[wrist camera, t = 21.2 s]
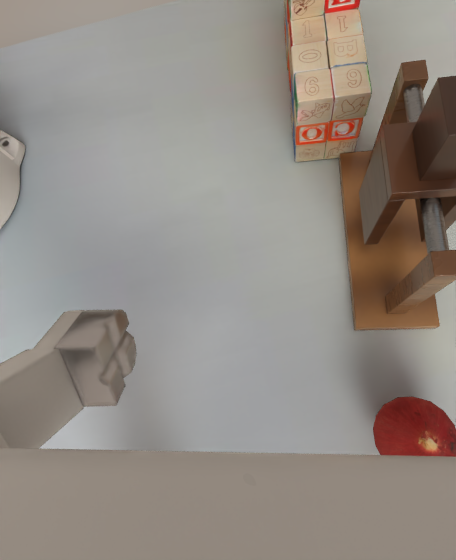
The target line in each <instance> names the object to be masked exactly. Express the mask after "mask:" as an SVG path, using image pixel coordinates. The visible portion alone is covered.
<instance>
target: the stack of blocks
mask: <svg viewBox="0 0 456 560" xmlns="http://www.w3.org/2000/svg"><path fill="white" fill-rule="evenodd" d="M359 4H360V0H284V15H285V40H286V56H287V69H288V71H289V83H290V92H291V121H292V135H293V142H294V155H295V162H300V161H311V160H320V159H332V158H339V156H340V153H350V152H354V151H355V147H356V143H357V138H358V137H359V134H360V130H361V126H362V122H363V117H364V116H365V115H366V112H367V108H368V105H369V101H370V97H371V93H372V89H371V84H370V78H369V71H368V66H367V56H366V49H365V44H364V37H363V30H362V23H361V18H360V13H359V10H358V8H359Z"/></svg>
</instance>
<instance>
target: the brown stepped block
mask: <svg viewBox="0 0 456 560" xmlns="http://www.w3.org/2000/svg"><path fill="white" fill-rule="evenodd" d="M436 197H440V199H441V205H442V211H443V217H444V222H445V228H446V230H447V229H448V228H449V227H450V226H451V225H452V224H453V223H454V222H455V221H456V76H450V77H441V78H438V79H437V81H436V83H435V85H434V87H433V90H432V92H431V94H430V96H429V98H428V100H427V102H426V104H425V106H424V108H423V110H422V112H421V114H420V116H419V118H418V120H417V122H409V123H399V124H388V125H383V127H382V129H381V132H380V136H379V138H378V141H377V144H376V147H375V149H374V152H373V155H372V158H371V160H370V163H369V166H368V169H367V171H366V174H365V177H364V180H363V182H362V185H361V188H360V191H359V198H360V207H361V217H362V226H363V236H364V244H365V245H372V244H378V243H379V241H380V240H381V238H382V236H383V235H384V233H385V232H386V230H387V228H388V227H389V225H390V224H391V222H392V220H393V219H394V217H395V216H396V214H397V212H398V211H399V209H400V208H401V206H402V204H403V203H404V201H405V200H406V199H415V203H416V210H417V216H418V223H419V230H420V237H421V242H426V241H425V234H424V227H423V221H422V214H421V208H420V201H419V199H421V198H436Z"/></svg>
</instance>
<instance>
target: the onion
mask: <svg viewBox="0 0 456 560" xmlns="http://www.w3.org/2000/svg"><path fill="white" fill-rule="evenodd" d="M373 432H374V439H375V445H376V447H377V449H378V451H379V453H380V455H398V456H445V457H456V429H455V425H454V424H453V422H452V421H451V420H450V419H449V417H448V416H447V415H446V413H445V412H444V411H443V410H442V409H440V408H439V407H437V406H436V405H435V404H433V403H432V402H430V401H427V400H423V399H420V398H416V397H398V398H396V399H394V400H392V401H390V402H388V403H386V404H384V405H383V407H382V408H381V409H380V411H379V412H378V414H377V415H376V418H375V422H374V427H373Z"/></svg>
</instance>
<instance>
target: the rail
mask: <svg viewBox="0 0 456 560" xmlns="http://www.w3.org/2000/svg"><path fill="white" fill-rule="evenodd" d="M427 81H428V72H427V67H426V61H425V60H419V61H412V62H404V63H401V66H400V69H399V72H398V75H397V78H396V81H395V84H394V87H393V90H392V93H391V96H390V99H389V102H388V105H387V108H386V111H385V114H384V117H383V120H382V123H381V126H380V129H379V132H378V135H377V138H376V141H375V144H374V147H373V150H371V151H361V152H350V153H340V156H339V170H340V180H341V191H342V202H343V213H344V224H345V235H346V245H347V256H348V267H349V278H350V289H351V300H352V310H353V321H354V330H392V329H431V328H437V327H439V326H440V325H439V319H438V312H437V305H436V299H435V293H437V292H438V291H440V290H441V289H443V288H444V287H446V286H447V285H449V284H450V283H452V282H453V281H455V280H456V250H449V246H448V240H447V234H446V228H445V222H444V217H443V211H442V205H441V199H440V197H436V198H421V199H419V201H420V208H421V214H422V221H423V227H424V234H425V241H426V242H421V237H420V230H419V223H418V216H417V210H416V203H415V199H406V200H405V201H404V203H403V204H402V206H401V208H400V209H399V211H398V212H397V214H396V216H395V217H394V219H393V220H392V222H391V224H390V225H389V227H388V228H387V230H386V232H385V233H384V235H383V236H382V238H381V240H380V241H379V243H378V244H372V245H365V244H364V236H363V226H362V217H361V207H360V198H359V191H360V188H361V185H362V182H363V180H364V177H365V174H366V171H367V169H368V166H369V163H370V160H371V158H372V155H373V152H374V149H375V147H376V144H377V141H378V138H379V136H380V132H381V129H382V127H383V125H388V124H399V123H409V122H417V120H418V118H419V116H420V114H421V112H422V110H423V108H424V106H425V104H424V98H423V90H424V87H425V85H426V83H427Z"/></svg>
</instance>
